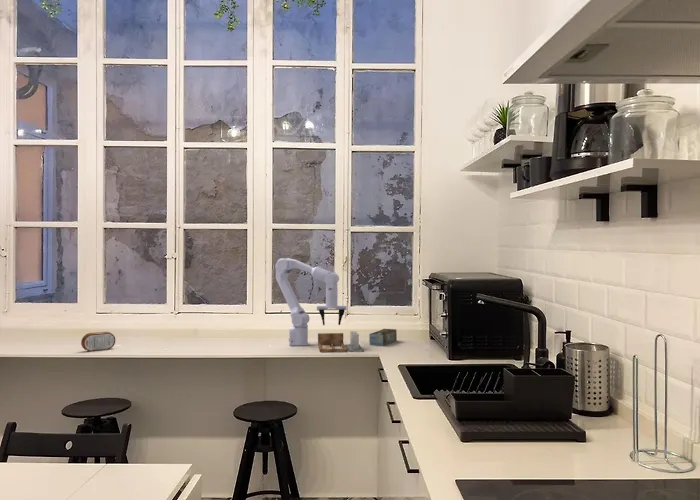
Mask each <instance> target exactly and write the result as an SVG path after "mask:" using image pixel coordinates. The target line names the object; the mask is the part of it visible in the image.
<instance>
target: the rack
mask: <svg viewBox="0 0 700 500" xmlns="http://www.w3.org/2000/svg"><path fill="white" fill-rule="evenodd" d="M322 345H331V346H330V349H323V348H322ZM333 345H341V346H342V347H341V346H340V347H341V348H335V346H333ZM317 346H318V350H319V353H347V352H348V349H347V347H346V346H345V343H344V333H343V332H335V333H334V332H327V333H325V332H323V333H322V332H320V333H319V332H317Z"/></svg>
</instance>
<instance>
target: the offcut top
mask: <svg viewBox="0 0 700 500" xmlns="http://www.w3.org/2000/svg"><path fill="white" fill-rule="evenodd" d="M322 348H323V349H331V346H330V345H322Z"/></svg>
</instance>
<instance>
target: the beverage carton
mask: <svg viewBox="0 0 700 500" xmlns="http://www.w3.org/2000/svg"><path fill="white" fill-rule="evenodd" d="M368 341H369V346H374V347H375V346H376V347H384V346H388V345H389V344H392V343H394V342H397V341H398V338H397V328H396V329H394V328H383V329H380V330H377V331H374V332H371V333H369V339H368Z"/></svg>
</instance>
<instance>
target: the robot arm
mask: <svg viewBox="0 0 700 500" xmlns="http://www.w3.org/2000/svg"><path fill="white" fill-rule="evenodd" d="M274 266H275V280H276V282H277V284H278V286H279V288H280V291H281V292H282V295H283V297H284V299H285V301H286V303H287V305H288V307H289V310H290V314H289V315H290V318H291V323H292V326H289V328H288V332H289V338H288V343H289V346H290V347H291V346H296V347H297V346H309V345H310V343H309V341H308V339H309V337H308V336H309V327H308V323H309V322H310V315H309V314H308V313H307V312H306V311H305V310H304V308H303V307H302V306H301V304H300V302H299V300H298V297H297V295H296V294H295V292H294V290H293V287H292V285H291V283H290V281H289V279H288V278H289V275H290V273H291V271H293V269H297V270H299V271H303V272H306V273H308V274H311V276H312V278H314V279H316V280H319V281H320V282H323V283H325V305H317V306H316V311H318V312H319V314H320V317H321V320H322V321H321V322H322V326H325V324H326V323H325V311H338V321H337V322H338V323H337V324H338V326H340V325H341V323H342V318H343V315H344V313H345V311H347V305H338V293H339V291H338V282H339V281H340V277H339V275H338V274H337V273H336V272H333V271H332V272H331V270H327V269H324V268H323V267H322V266H315V267H313V266H310V265H308V264H306V263H305V262H302V261H300V260H298V259H292V258H291V257H286V258H284V257H283V258H279V259H277V261H276V264H275V265H274Z"/></svg>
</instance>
